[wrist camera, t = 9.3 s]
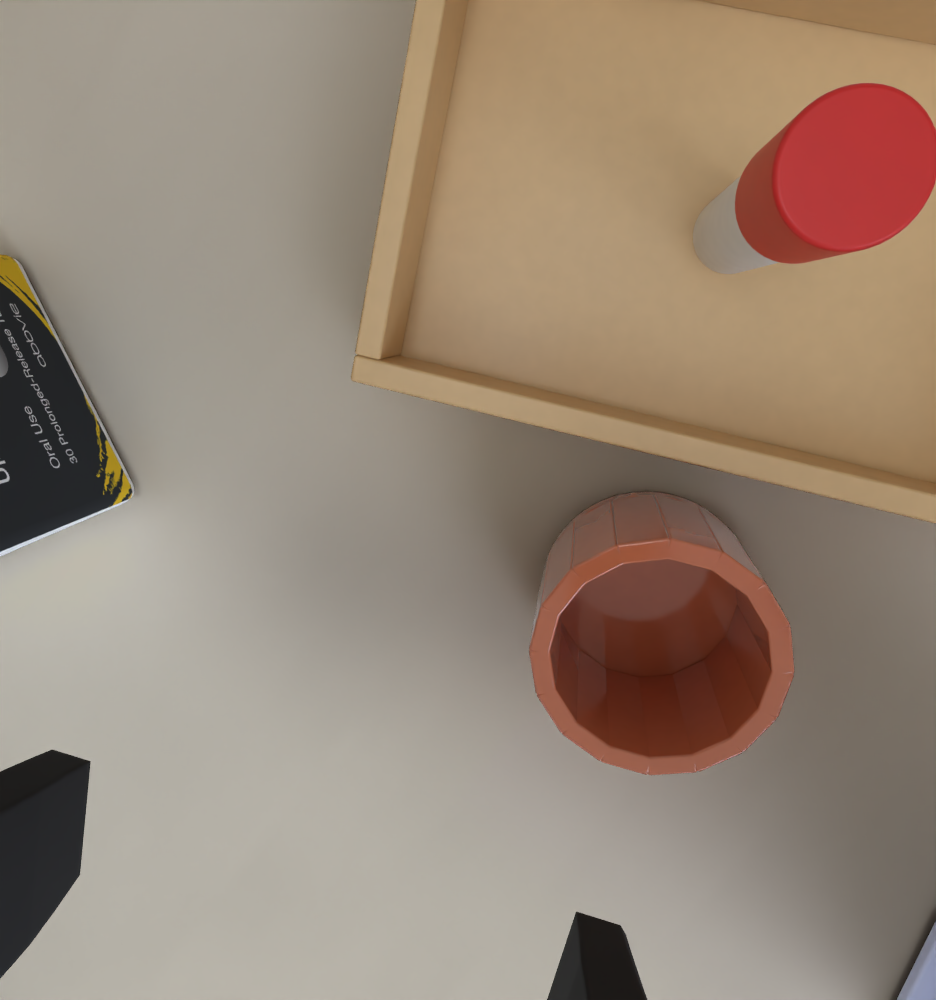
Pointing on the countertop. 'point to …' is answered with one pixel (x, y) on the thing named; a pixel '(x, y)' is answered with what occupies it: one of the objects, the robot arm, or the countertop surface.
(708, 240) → the marker
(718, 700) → the cup
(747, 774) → the countertop surface
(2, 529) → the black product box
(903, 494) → the tray
